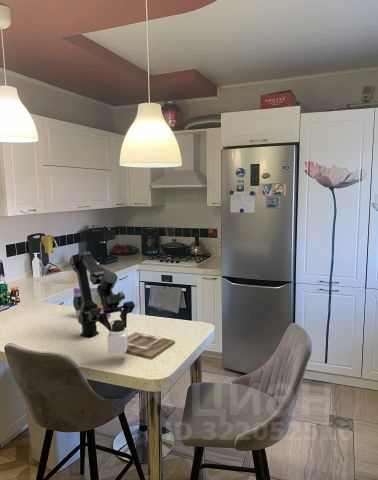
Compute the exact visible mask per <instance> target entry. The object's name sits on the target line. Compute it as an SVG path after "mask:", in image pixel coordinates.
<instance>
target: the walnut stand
mask: <svg viewBox="0 0 378 480" xmlns="http://www.w3.org/2000/svg"><path fill="white" fill-rule="evenodd" d="M127 340H128V346H127V350H126V353H125V354H130V355H133V356H137V357H141V358H144V359H149V360H153V359H155V358H156V357H157V356H158V355H160V354H161V353H163V352H164V351H166V350H168V349H169V348H170V347H172V346H173V345H174V344H175V343H176V340H173V339H168V338H164V337H160V336H155V335H150V334H145V333H141V332H133V333H131V334H130V335H127Z"/></svg>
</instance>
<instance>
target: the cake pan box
mask: <svg viewBox="0 0 378 480" xmlns="http://www.w3.org/2000/svg"><path fill="white" fill-rule="evenodd" d="M89 286H90V291H91V296H92V301H93V302H94V303H96V304H97V307H98V308H101V310H104V309H103V306H102V305H101V303H100V302H101V300H100V297H99V294H98V293H97V287H98V285H97V284H96V285H93V284H92V285H91V284H89ZM72 304H73V308H74V310H75V316H76V317H75V318H76V319H78V317H79V315H80V308H81V306H82V298H81V293H80V288H79V284H78V285H75V286H74V287H73V300H72ZM111 314H112V313H110V314H107V319H108V320H109V318H110V317H111Z"/></svg>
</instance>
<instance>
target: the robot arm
mask: <svg viewBox="0 0 378 480" xmlns="http://www.w3.org/2000/svg"><path fill="white" fill-rule="evenodd" d="M69 264H70V265H71V268H72V270H73V271H74V273H76V276H77V280H78V285H79V288H80V293H81V298H82V306H81V308H80V315H79V317H78V318H77V321H78V324H80V325H81V333H80V334H79V336H82V337H85V338H88V339H89V338H92V337H95V336H96V335H98V334H99V333H100V332H99V331H98V330H97V329H98V327H97V326H98V325H97V322H99V323H100V324H101V325H103V326H104V328H106V329H107V330H108V332H109V331H110V332H111V331H112V329H111V326H110V324H109V323H110V321H109V318H108V319H107V314H112V313H114V314H115V313H118V312H119V313H120V314H119V317H120V320H122V321H124V323H125V329H126V328H128V327H127V324H128V323H127V317H128V314H131V312H132V313H133V311H134V309H135V307H136V304H135V302H134V301H132V300H131V301H125V302H123V304H122V305H120V304H121V302H122V301H124V300H125V299H126V297H125V293H124V291H122V290H121V291H119V292H117V294H116V293H114V292H113V289H114V287H115V286H116V283H117V282H118V278H119V277H118V275H117V274H116V273H115V272H113V271H111V269H106V268H104V267H102V266H99V264H98V263H97V261H96V260H95V259H94V257H93V255H92V254H91V251H80V252H78V253H77V254H73V255H72V256H71V257H70V258H69ZM88 272H89V275H88ZM88 276H89V277H88ZM90 283H92V285H96V286H98V287H97V293H98V294H99V297H100V300H101V302H100V303H101V305H102V306H103V309H104V310H101V308H98V307H97V304H96V303H94V302H93V301H92V296H91V291H90V286H89V285H90ZM119 305H120V306H119Z"/></svg>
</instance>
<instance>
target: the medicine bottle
mask: <svg viewBox="0 0 378 480" xmlns="http://www.w3.org/2000/svg"><path fill="white" fill-rule="evenodd" d="M109 324H110V326H111V329H112V331H111V332H110V331H109V330H108V334H107V337H106V339H107V340H106V341H107V353H108V354H111V355H112V354H127V353H126V350H127V346H128V340H127V337H128V329H126V328H125V323H124V321H122V320H121V319H115V320H111V321H109Z"/></svg>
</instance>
